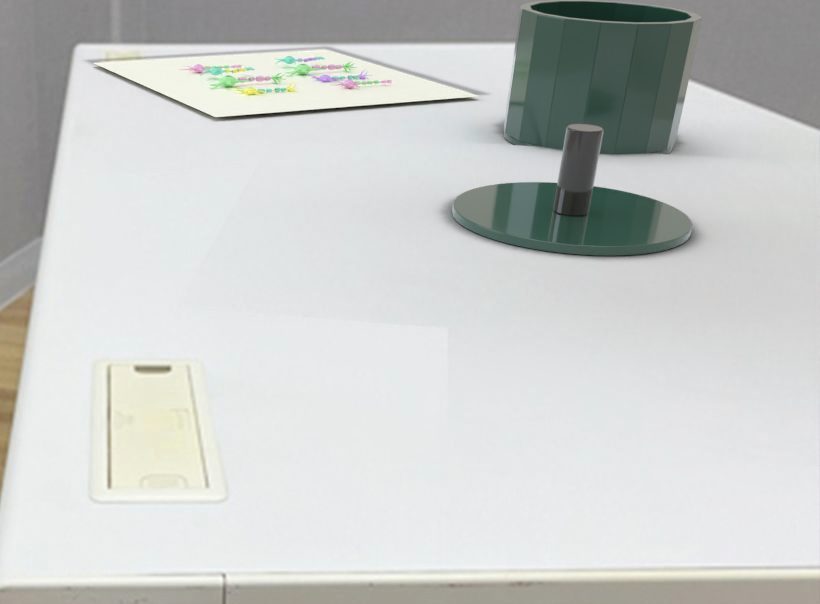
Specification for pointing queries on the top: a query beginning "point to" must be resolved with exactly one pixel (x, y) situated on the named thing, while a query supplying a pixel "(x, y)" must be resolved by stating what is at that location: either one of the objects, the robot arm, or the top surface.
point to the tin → (600, 73)
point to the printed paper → (278, 82)
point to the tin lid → (573, 209)
